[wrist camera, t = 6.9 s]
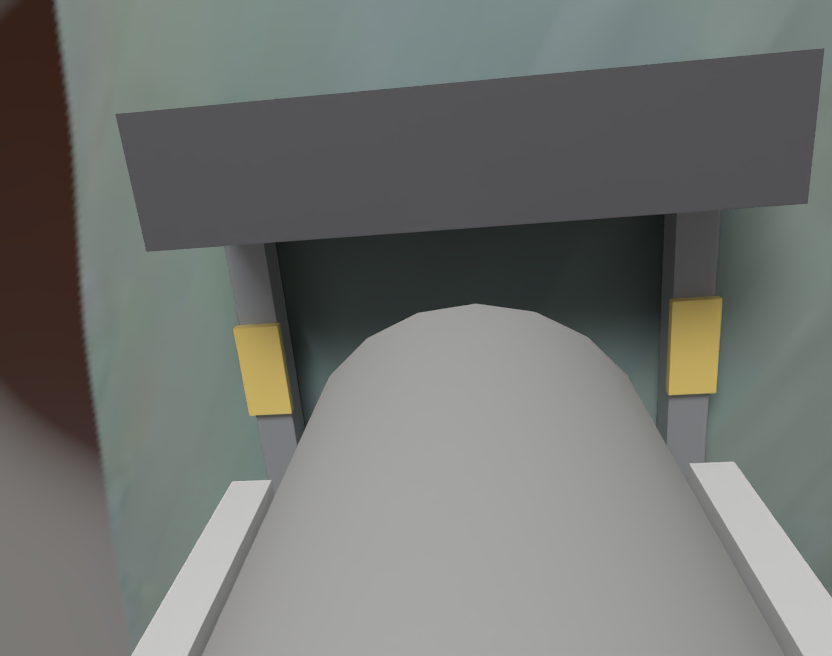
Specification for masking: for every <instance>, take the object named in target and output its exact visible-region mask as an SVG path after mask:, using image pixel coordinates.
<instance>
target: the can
mask: <svg viewBox="0 0 832 656" xmlns="http://www.w3.org/2000/svg"><path fill="white" fill-rule="evenodd" d="M202 656H785V654H784V653H783V651H782V649H781V647H780V646H779V644H778V642H777V640H776V638H775V637H774V635H773V633H772V631H771V630H770V628H769V626H768V624H767V623H766V621H765V619H764V617H763V615H762V614H761V612H760V610H759V608H758V607H757V605H756V603H755V601H754V599H753V598H752V596H751V594H750V592H749V591H748V589H747V587H746V585H745V583H744V582H743V580H742V578H741V576H740V575H739V573H738V571H737V569H736V568H735V566H734V564H733V562H732V560H731V559H730V557H729V555H728V553H727V552H726V550H725V548H724V546H723V544H722V543H721V541H720V539H719V537H718V536H717V534H716V532H715V530H714V528H713V527H712V525H711V523H710V521H709V520H708V518H707V516H706V514H705V513H704V511H703V509H702V507H701V505H700V504H699V502H698V500H697V498H696V497H695V495H694V493H693V491H692V489H691V488H690V486H689V484H688V482H687V481H686V479H685V477H684V475H683V473H682V472H681V470H680V468H679V466H678V465H677V463H676V461H675V459H674V457H673V456H672V454H671V452H670V450H669V449H668V447H667V445H666V443H665V442H664V440H663V438H662V436H661V434H660V433H659V431H658V429H657V427H656V426H655V424H654V422H653V420H652V418H651V417H650V415H649V413H648V411H647V410H646V408H645V406H644V404H643V402H642V401H641V399H640V397H639V395H638V394H637V392H636V390H635V388H634V387H633V385H632V383H631V381H630V379H629V378H628V376H627V375H626V374H625V373H624V372H623V371H622V370H621V369H620V368H619V367H618V366H617V365H616V364H615V363H614V362H613V361H612V360H611V359H610V358H609V357H608V356H607V355H606V354H605V353H604V352H603V351H602V350H601V349H600V348H599V347H598V346H597V345H595V344H594V343H593V342H592V341H591V340H590V339H589V338H588V337H587V336H585V335H583V334H581V333H578V332H576V331H574V330H572V329H570V328H568V327H566V326H564V325H562V324H560V323H557V322H555V321H553V320H551V319H549V318H547V317H545V316H543V315H541V314H539V313H536V312H532V311H525V310H518V309H511V308H504V307H497V306H490V305H482V304H470V305H464V306H458V307H452V308H445V309H439V310H433V311H427V312H420V313H417V314H415V315H413V316H411V317H409V318H407V319H405V320H403V321H401V322H399V323H397V324H395V325H393V326H391V327H389V328H387V329H385V330H383V331H381V332H379V333H377V334H375V335H373V336H371V337H369V338H367V339H366V340H365V341H364V342H363V343H362V344H361V345H360V346H359V347H358V348H357V349H356V350H355V351H354V352H353V353H352V354H351V355H350V356H349V357H348V358H347V359H346V360H345V361H344V362H343V363H342V364H341V365H340V366H339V367H338V368H337V369H336V370H335V371H334V372H333V373H332V374H331V375H330V377H329V379H328V381H327V383H326V385H325V387H324V389H323V392H322V394H321V396H320V398H319V400H318V402H317V404H316V407H315V409H314V411H313V413H312V415H311V417H310V419H309V422H308V424H307V426H306V428H305V430H304V433H303V435H302V437H301V439H300V441H299V443H298V446H297V448H296V450H295V452H294V454H293V457H292V459H291V461H290V463H289V465H288V468H287V470H286V472H285V474H284V476H283V479H282V481H281V483H280V485H279V487H278V490H277V492H276V494H275V496H274V498H273V501H272V503H271V505H270V507H269V509H268V512H267V514H266V516H265V518H264V520H263V522H262V525H261V527H260V529H259V531H258V533H257V536H256V538H255V540H254V542H253V544H252V547H251V549H250V551H249V553H248V555H247V558H246V560H245V562H244V564H243V566H242V569H241V571H240V573H239V575H238V577H237V580H236V582H235V584H234V586H233V588H232V591H231V593H230V595H229V597H228V599H227V601H226V604H225V606H224V608H223V610H222V612H221V615H220V617H219V619H218V621H217V623H216V626H215V628H214V630H213V632H212V634H211V637H210V639H209V641H208V643H207V645H206V648H205V650H204V652H203V654H202Z"/></svg>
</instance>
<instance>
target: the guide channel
mask: <svg viewBox="0 0 832 656" xmlns="http://www.w3.org/2000/svg"><path fill="white" fill-rule="evenodd" d="M823 56H824V49H813V50H802V51H792V52H781V53H770V54H759V55H748V56H738V57H727V58H716V59H705V60H695V61H684V62H673V63H662V64H651V65H641V66H630V67H619V68H608V69H598V70H587V71H576V72H565V73H554V74H544V75H533V76H522V77H511V78H501V79H490V80H479V81H468V82H457V83H447V84H436V85H425V86H414V87H404V88H393V89H382V90H371V91H360V92H350V93H339V94H328V95H317V96H307V97H296V98H285V99H274V100H263V101H253V102H242V103H231V104H220V105H210V106H199V107H188V108H177V109H166V110H156V111H145V112H134V113H123V114H116V119H117V123H118V128H119V132H120V136H121V141H122V145H123V150H124V154H125V159H126V163H127V167H128V172H129V176H130V181H131V185H132V189H133V194H134V198H135V203H136V207H137V212H138V216H139V220H140V225H141V229H142V234H143V238H144V243H145V247H146V251H147V252H148V251H162V250H176V249H190V248H203V247H217V246H225V251H226V256H227V261H228V267H229V272H230V277H231V283H232V288H233V294H234V299H235V304H236V310H237V315H238V321H239V325H236V326H235V327H234V328H233V330H234V336H235V341H236V346H237V351H238V357H239V362H240V367H241V373H242V378H243V383H244V388H245V394H246V399H247V404H248V410H249V415H250V416H252V415H256V417H257V423H258V428H259V434H260V439H261V444H262V450H263V455H264V461H265V466H266V471H267V477H268V480H272V484H273V489H274V495H275V494H276V492H277V490H278V487H279V485H280V483H281V481H282V479H283V476H284V474H285V472H286V470H287V468H288V465H289V463H290V461H291V459H292V457H293V454H294V452H295V450H296V448H297V446H298V443H299V441H300V439H301V437H302V435H303V433H304V430H305V425H304V419H303V412H302V406H301V400H300V394H299V387H298V381H297V375H296V368H295V362H294V356H293V350H292V343H291V337H290V331H289V325H288V318H287V312H286V306H285V300H284V293H283V287H282V281H281V274H280V268H279V262H278V256H277V249H276V243H275V242H286V241H300V240H313V239H327V238H341V237H355V236H368V235H382V234H396V233H410V232H423V231H437V230H451V229H465V228H478V227H492V226H506V225H520V224H533V223H547V222H561V221H575V220H588V219H602V218H616V217H630V216H643V215H657V214H665V216H664V243H663V269H662V296H661V323H660V349H659V376H658V402H657V429H658V431H659V433H660V434H661V436H662V438H663V440H664V442H665V443H666V445H667V447H668V449H669V450H670V452H671V454H672V456H673V457H674V459H675V461H676V463H677V465H678V466H679V468H680V470H681V472H682V473H683V475H684V477H685V479H686V481H687V482H688V473H689V463H704V460H705V445H706V429H707V414H708V399H709V393H716V385H717V371H718V357H719V342H720V328H721V314H722V298H721V297H720V296H715V293H716V277H717V262H718V247H719V232H720V217H721V210H726V209H740V208H753V207H767V206H781V205H795V204H807V203H808V194H809V184H810V175H811V166H812V157H813V148H814V138H815V129H816V120H817V111H818V102H819V93H820V83H821V74H822V65H823Z"/></svg>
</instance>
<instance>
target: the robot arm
mask: <svg viewBox="0 0 832 656" xmlns="http://www.w3.org/2000/svg"><path fill="white" fill-rule="evenodd" d="M688 484H689V486H690V488H691V489H692V491H693V493H694V495H695V497H696V498H697V500H698V502H699V504H700V505H701V507H702V509H703V511H704V513H705V514H706V516H707V518H708V520H709V521H710V523H711V525H712V527H713V528H714V530H715V532H716V534H717V536H718V537H719V539H720V541H721V543H722V544H723V546H724V548H725V550H726V552H727V553H728V555H729V557H730V559H731V560H732V562H733V564H734V566H735V568H736V569H737V571H738V573H739V575H740V576H741V578H742V580H743V582H744V583H745V585H746V587H747V589H748V591H749V592H750V594H751V596H752V598H753V599H754V601H755V603H756V605H757V607H758V608H759V610H760V612H761V614H762V615H763V617H764V619H765V621H766V623H767V624H768V626H769V628H770V630H771V631H772V633H773V635H774V637H775V638H776V640H777V642H778V644H779V646H780V647H781V649H782V651H783V653H784V654H785V656H832V598H831V596H830V595H829V594H828V592H827V591H826V589H825V588H824V587H823V585H822V584H821V582H820V581H819V580H818V578H817V577H816V575H815V574H814V573H813V571H812V570H811V568H810V567H809V566H808V564H807V563H806V561H805V560H804V559H803V557H802V556H801V554H800V553H799V552H798V550H797V549H796V547H795V546H794V545H793V543H792V542H791V541H790V539H789V538H788V536H787V535H786V534H785V532H784V531H783V529H782V528H781V527H780V525H779V524H778V522H777V521H776V520H775V518H774V517H773V515H772V514H771V513H770V511H769V510H768V508H767V507H766V506H765V504H764V503H763V501H762V500H761V499H760V497H759V496H758V494H757V493H756V492H755V490H754V489H753V487H752V486H751V485H750V483H749V482H748V481H747V479H746V478H745V476H744V475H743V474H742V472H741V471H740V469H739V468H738V467H737V465H736V464H735V462H713V463H689V473H688ZM274 496H275V495H274V489H273V484H272V480H256V481H232V482H231V484H230V486H229V488H228V489H227V491H226V493H225V495H224V496H223V498H222V500H221V501H220V503H219V505H218V507H217V508H216V510H215V512H214V514H213V515H212V517H211V519H210V520H209V522H208V524H207V526H206V527H205V529H204V531H203V533H202V534H201V536H200V538H199V540H198V541H197V543H196V545H195V546H194V548H193V550H192V552H191V553H190V555H189V557H188V559H187V560H186V562H185V564H184V565H183V567H182V569H181V571H180V572H179V574H178V576H177V578H176V579H175V581H174V583H173V584H172V586H171V588H170V590H169V591H168V593H167V595H166V597H165V598H164V600H163V602H162V603H161V605H160V607H159V609H158V610H157V612H156V614H155V616H154V617H153V619H152V621H151V622H150V624H149V626H148V628H147V629H146V631H145V633H144V635H143V636H142V638H141V640H140V641H139V643H138V645H137V647H136V648H135V650H134V652H133V654H132V655H131V656H202V654H203V652H204V650H205V648H206V645H207V643H208V641H209V639H210V637H211V634H212V632H213V630H214V628H215V626H216V623H217V621H218V619H219V617H220V615H221V612H222V610H223V608H224V606H225V604H226V601H227V599H228V597H229V595H230V593H231V591H232V588H233V586H234V584H235V582H236V580H237V577H238V575H239V573H240V571H241V569H242V566H243V564H244V562H245V560H246V558H247V555H248V553H249V551H250V549H251V547H252V544H253V542H254V540H255V538H256V536H257V533H258V531H259V529H260V527H261V525H262V522H263V520H264V518H265V516H266V514H267V512H268V509H269V507H270V505H271V503H272V501H273V498H274Z"/></svg>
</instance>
